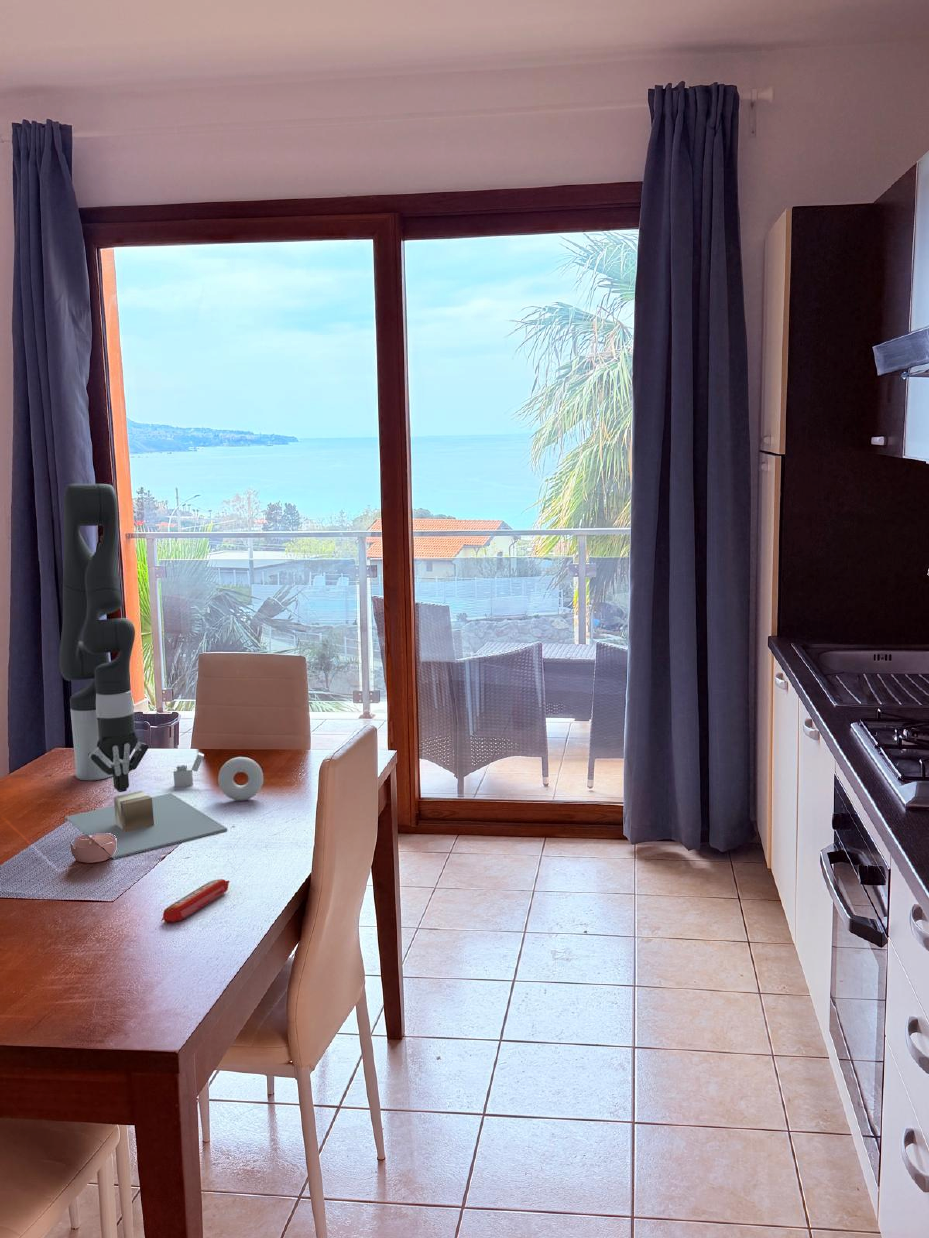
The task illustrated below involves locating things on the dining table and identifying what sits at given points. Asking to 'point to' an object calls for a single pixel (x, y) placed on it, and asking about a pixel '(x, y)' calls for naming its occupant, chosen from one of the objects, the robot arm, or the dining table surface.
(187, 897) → the packaged sausage
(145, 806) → the block
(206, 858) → the dining table surface
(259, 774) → the donut
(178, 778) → the lighter
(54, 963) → the dining table surface
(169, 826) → the mat
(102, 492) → the robot arm
